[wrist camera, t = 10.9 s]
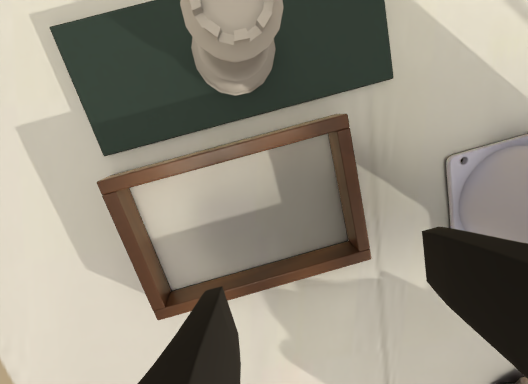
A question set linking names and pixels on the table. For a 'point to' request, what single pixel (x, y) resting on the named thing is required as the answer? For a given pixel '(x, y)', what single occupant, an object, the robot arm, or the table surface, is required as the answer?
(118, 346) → the table surface
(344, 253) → the desk tray
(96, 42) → the desk mat
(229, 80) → the rook chess piece
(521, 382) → the geode
